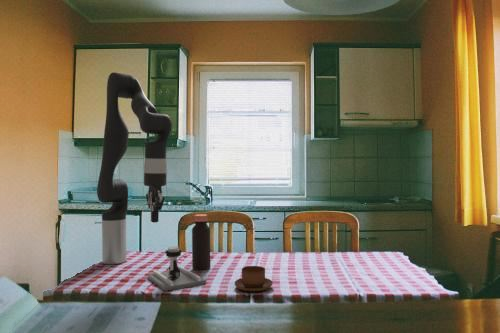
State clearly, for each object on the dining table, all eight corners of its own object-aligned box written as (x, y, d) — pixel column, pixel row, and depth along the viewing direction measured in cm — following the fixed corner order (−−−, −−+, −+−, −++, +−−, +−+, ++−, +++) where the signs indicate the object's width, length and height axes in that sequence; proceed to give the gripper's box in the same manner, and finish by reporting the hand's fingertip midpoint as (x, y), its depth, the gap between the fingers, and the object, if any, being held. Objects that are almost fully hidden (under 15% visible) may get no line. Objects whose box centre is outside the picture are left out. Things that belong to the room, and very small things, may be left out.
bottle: (188, 269, 146) (188, 215, 146) (198, 265, 152) (197, 213, 152) (205, 271, 143) (204, 216, 143) (213, 266, 150) (213, 214, 150)
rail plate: (147, 278, 135) (147, 271, 135) (185, 271, 143) (185, 265, 143) (165, 291, 121) (164, 283, 121) (206, 283, 128) (206, 276, 128)
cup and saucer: (229, 285, 127) (228, 266, 127) (262, 280, 132) (262, 262, 132) (243, 297, 116) (243, 276, 116) (279, 291, 121) (279, 271, 121)
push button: (176, 281, 127) (175, 250, 127) (160, 280, 128) (160, 250, 128) (184, 276, 133) (184, 246, 133) (169, 275, 134) (169, 245, 134)
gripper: (172, 172, 131) (171, 224, 132) (159, 171, 143) (158, 218, 143) (150, 172, 127) (150, 226, 128) (138, 171, 138) (138, 220, 139)
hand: (154, 222), depth 135 cm, fingers closed
